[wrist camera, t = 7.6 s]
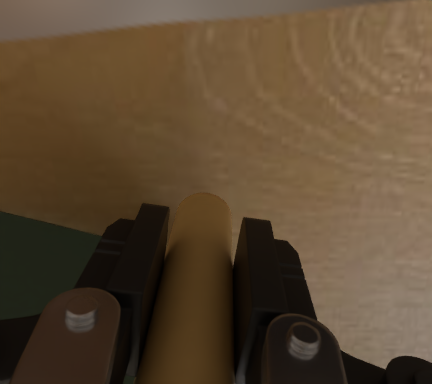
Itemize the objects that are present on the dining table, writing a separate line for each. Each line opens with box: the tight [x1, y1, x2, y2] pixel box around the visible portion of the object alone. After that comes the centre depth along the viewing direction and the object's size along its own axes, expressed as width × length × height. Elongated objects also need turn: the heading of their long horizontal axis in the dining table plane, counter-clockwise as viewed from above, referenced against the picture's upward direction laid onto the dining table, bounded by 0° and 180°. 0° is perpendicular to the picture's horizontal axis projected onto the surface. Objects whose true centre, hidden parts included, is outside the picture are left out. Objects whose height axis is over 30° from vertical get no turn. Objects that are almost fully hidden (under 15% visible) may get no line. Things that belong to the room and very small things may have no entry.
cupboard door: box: [0, 193, 235, 384], centre depth 12 cm, size 8×14×16 cm, turn 74°
